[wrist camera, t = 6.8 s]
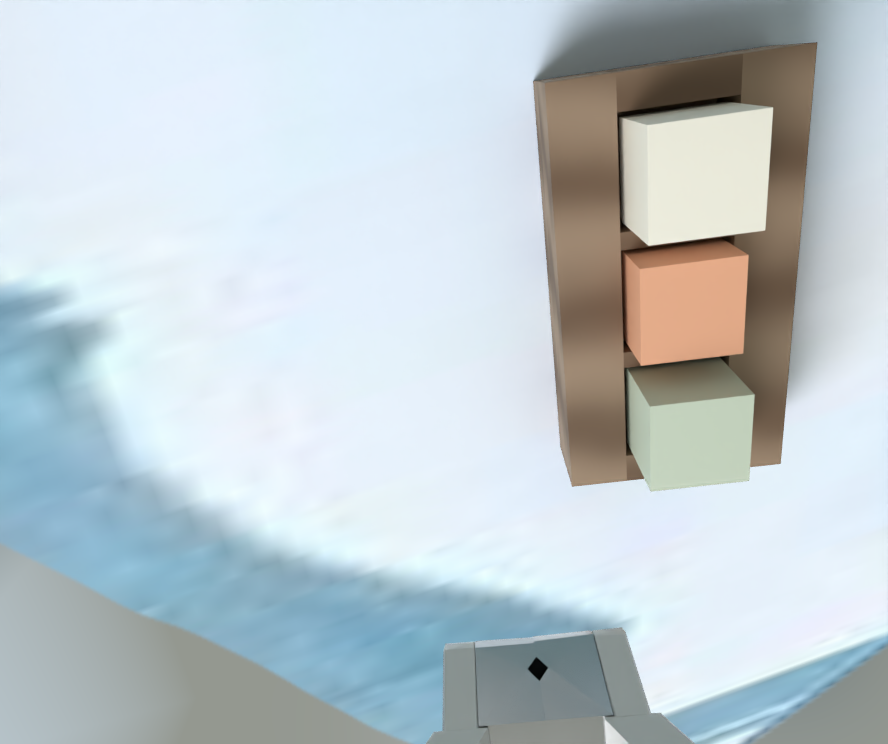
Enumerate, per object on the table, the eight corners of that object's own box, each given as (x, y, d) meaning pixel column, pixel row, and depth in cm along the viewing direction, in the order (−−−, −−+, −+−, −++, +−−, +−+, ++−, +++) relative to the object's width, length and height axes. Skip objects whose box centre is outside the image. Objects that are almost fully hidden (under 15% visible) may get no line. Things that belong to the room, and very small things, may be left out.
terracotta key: (615, 243, 36) (639, 269, 31) (710, 230, 35) (748, 255, 31) (617, 329, 38) (641, 365, 33) (707, 318, 37) (743, 353, 33)
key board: (533, 81, 34) (544, 82, 30) (771, 45, 33) (817, 42, 29) (560, 446, 43) (572, 486, 39) (748, 425, 42) (780, 463, 38)
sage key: (625, 364, 37) (650, 406, 32) (716, 353, 36) (754, 394, 32) (627, 441, 39) (650, 491, 34) (713, 432, 39) (749, 480, 34)
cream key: (618, 116, 31) (647, 125, 27) (725, 101, 31) (773, 107, 27) (621, 221, 33) (648, 245, 29) (721, 208, 33) (765, 230, 29)
